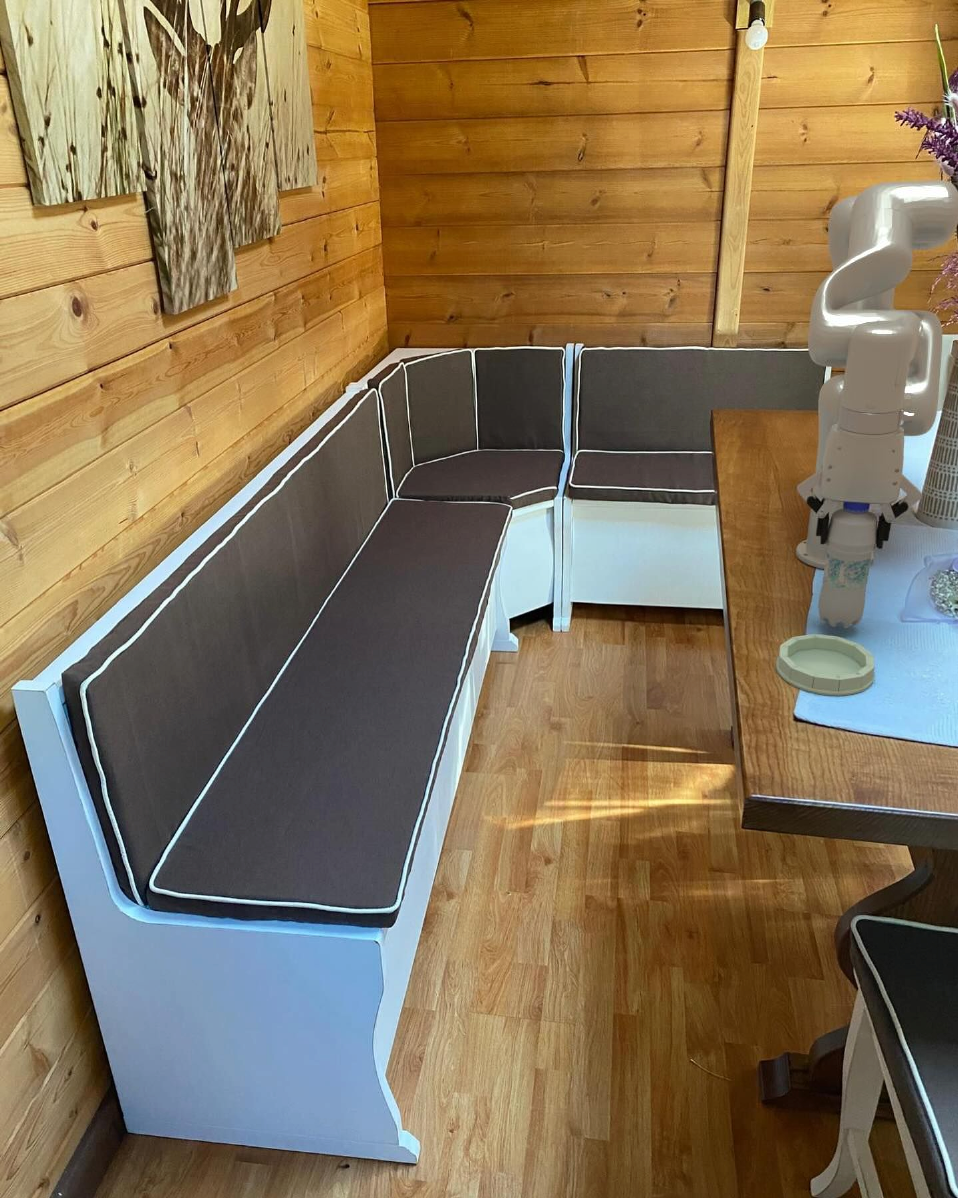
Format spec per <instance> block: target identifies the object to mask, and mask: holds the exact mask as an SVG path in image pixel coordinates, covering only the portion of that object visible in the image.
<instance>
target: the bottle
mask: <svg viewBox="0 0 958 1198" xmlns="http://www.w3.org/2000/svg"><path fill="white" fill-rule="evenodd" d="M869 506H870V504H867V503H851V502H844V503H843V509H840V510H837V511H835V512H834V513H833V514H832V517H831V520H830V524H829V527H828V532H827V540H826V546H827V554H826V562H825V569H823V577H822V584H821V587H820V591H819V597H818V602H817V603H818V604H817V608H818V616H819V619H820V621H821V622H823V623H829V626H830V627H833V628H835V627H837V625H838V623H842V627H843V628H844V629H847V628H850V627H851V625H852V626H856V625H858V624H859V623H860V621H862V618H863V616H864V615H863V614H864V611H865V606H866V594H867V593H866V591H867V583H868V578H869V572H870V567H871V565H870V561H871V554H872V552H873V553H874V551H875V549H876V541H877V527H878V517H877V515H876V514H874V513H873V512H872V511H871V512H869V511H868V510H869Z"/></svg>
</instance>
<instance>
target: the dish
mask: <svg viewBox="0 0 958 1198" xmlns="http://www.w3.org/2000/svg"><path fill="white" fill-rule="evenodd" d="M875 667H876V666H875V659H874V655H873V654H872V653H871V652H870V651H869V650H867V649H866V648H865V647H864V646H862V645H861V644H860V643H858V642H855V641H852V640H848V639H846V638H843V637H840V636H836V635H827V634H819V633H818V634H817V633H816V634H815V633H811V634H806V635H799V636H792V637H791V638H789V639H788V640H786V641H785V642H783V643H782V644H780V646H779V655H778V657H777V658H776V662H775V670H776V672H777V674H778V675H779V677H780V678H781V679H782V680H784V681H785V682H786V683H788V684H790V685H791V686H793V687H795V688H797V689H799V690H802V691H805V692H808V693H811V694H816V695H820V696H827V697H828V696H829V697H845V696H853V695H856V694H860V693H863V692H865V691H866V690H868V689H869V688H870V687H871V686H872V684H873V683H874V680H875Z"/></svg>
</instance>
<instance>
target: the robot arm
mask: <svg viewBox="0 0 958 1198" xmlns="http://www.w3.org/2000/svg"><path fill="white" fill-rule="evenodd" d="M957 226H958V189H957V187H956V186H955V185H954V184H953V183H952V182H949V181H947V180H943V179H942V180H941V179H940V180H937V179H935V180H933V179H932V180H910V181H909V180H906V181H905V180H904V181H886V182H881V183H876V184H874V185H870V186H868V187H867V188H864V189H863V190H862V191H861V192H860V193H859V194H858V195H851V196H848V197H846V198H843V199H841V200H840V201H838V202H837V203H836V204H835V205H834V206H833V208H832V209H831V211H830V215H829V219H828V228H827V229H828V230H827V235H828V236H827V237H828V239H827V241H828V242H827V243H828V252H829V258H830V262H831V267H832V270H833V271H831V273H829V274H828V275H827V277H825V278H824V280H823V281H822V282H821V284H820V285H819V287H818V288H817V291H816V292H815V294H814V297H813V300H812V305H811V310H810V318H809V327H808V329H809V330H808V337H807V344H808V346H807V349H808V354H809V357H810V359H811V360H812V361H813V363H814V364H816V365H818V366H821V367H826V368H827V367H828V368H829V367H831V368H843V369H845V370H844V374H838V375H835V376H832V377H830V378H829V379H827V380H826V381H824V383H823V385H822V386H821V388H820V390H819V395H818V406H817V409H818V445H817V454H816V455H817V456H816V457H817V458H816V465H815V473H813V474H812V475H810V476H809V477H808V478H806V479H805V480H803V481H802V482H800V483H799V484H798V485H797V489H796V490H797V493H798V494H799V496H801V498H802V499H803V500H804V501H805V502H806V504H807V505H808V507H810V512H809V513H810V514H809V521H808V528H807V529H808V530H807V536H806V537H807V538H806V539H805V540H802V541H801V542H800V543H798V545H796V552H795V554H796V557H797V558H798V559H799V560H800V561H801V562H802V563H805V564H806V565H808V566H811V567H814V568H817V569H821V570H824V569H825V562H826V554H827V546H826V540H827V532H828V527H829V524H830V520H831V517H832V514H833V513H834V512H835V511H837V510H840V509H843V503H844V502H851V503H867V504H870V506H869V510H868V511H869V512H871V513H872V505H879V507H880V510H881V511H882V512H881V514H880V515H879V516H878V520H877V541H876V543H875V549H876V548H877V549H878V550H882V549H883V545H884V542H889V538H890V534H891V533H890V532H891V526H892V523H894V521H895V520H896V519H897V518H898V517H900V516H901V515H902V514H904V513H905V512H907V511H908V510H909V508H911V507H913V506H914V505H915V504H916V503H917V502H919V501H920V500H922V498H923V496H922V495H923V494H922V492H921V490H919V488H918V487H916V486H915V485H914V484H913V483H912V482H911V481H910V480H909V479H908V478H907V477H906V476H905V475H904V474H903V471H904V470H903V469H904V457H905V437H918V436H919V437H920V436H923V435H924V434H927V433H928V432H930V430H931V429H932V428H933V426H934V424H935V421H936V418H937V413H938V407H939V396H940V395H939V393H940V383H941V382H940V381H941V380H940V379H941V369H942V368H941V367H942V364H941V363H942V355H943V354H942V353H943V328H942V327H943V326H942V322H941V319H940V318H939V317H938V315H937V314H935V313H934V312H932V311H929V310H922V309H895V308H894V299H895V298H894V297H895V290H896V287H897V286H898V285H900V284H901V283H902V282H903V281H904V280H905V279H906V278H907V277H908V275H909V274H910V273H911V270H912V267H913V258H914V257H913V256H914V255H913V254H914V253H913V251H927V250H934V249H937V248H939V247H941V246H942V245H945V244H946V243H947V242H948V241H949V240H950V239H951V238H952V237H953V235H954V234H955V231H956V229H957ZM811 489H813V490H811ZM901 490H902V491H903V492H904V493H905V494H906V495H905V496H904V497H903V498H901V499H900V500H898V498H899V496H900V493H901ZM893 503H894V504H893ZM874 558H875V553H874V551H873V552H872V554H871V561H870V566H871V565H872V564H873V562H874Z"/></svg>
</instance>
